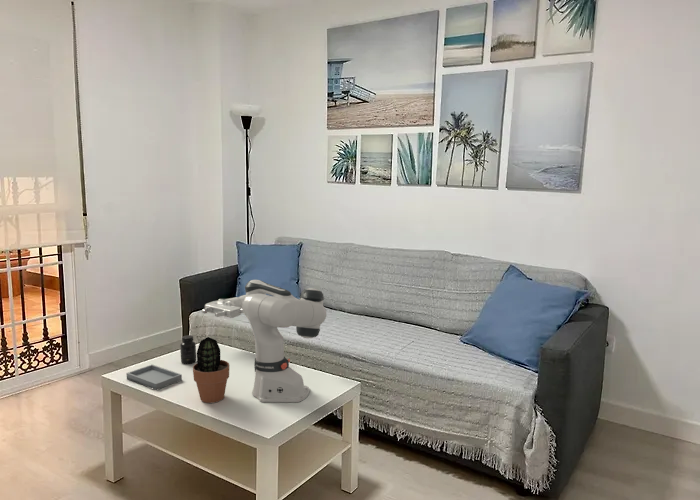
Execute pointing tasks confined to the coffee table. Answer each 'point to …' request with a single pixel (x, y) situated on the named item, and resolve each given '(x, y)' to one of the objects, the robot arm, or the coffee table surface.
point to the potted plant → (210, 371)
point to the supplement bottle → (188, 350)
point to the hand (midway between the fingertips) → (209, 313)
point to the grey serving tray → (154, 376)
